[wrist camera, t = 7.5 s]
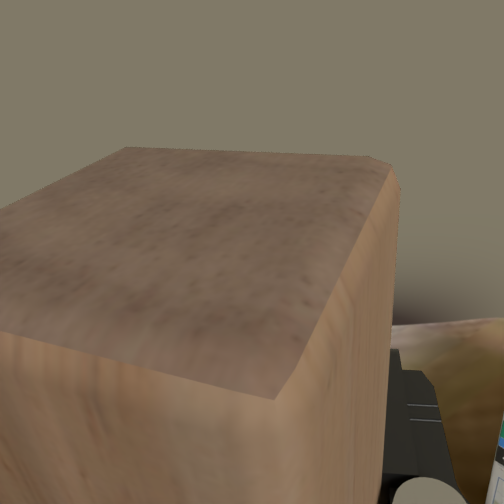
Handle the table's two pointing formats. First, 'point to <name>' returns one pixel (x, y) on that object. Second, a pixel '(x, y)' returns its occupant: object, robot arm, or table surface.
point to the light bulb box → (497, 473)
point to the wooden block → (198, 330)
